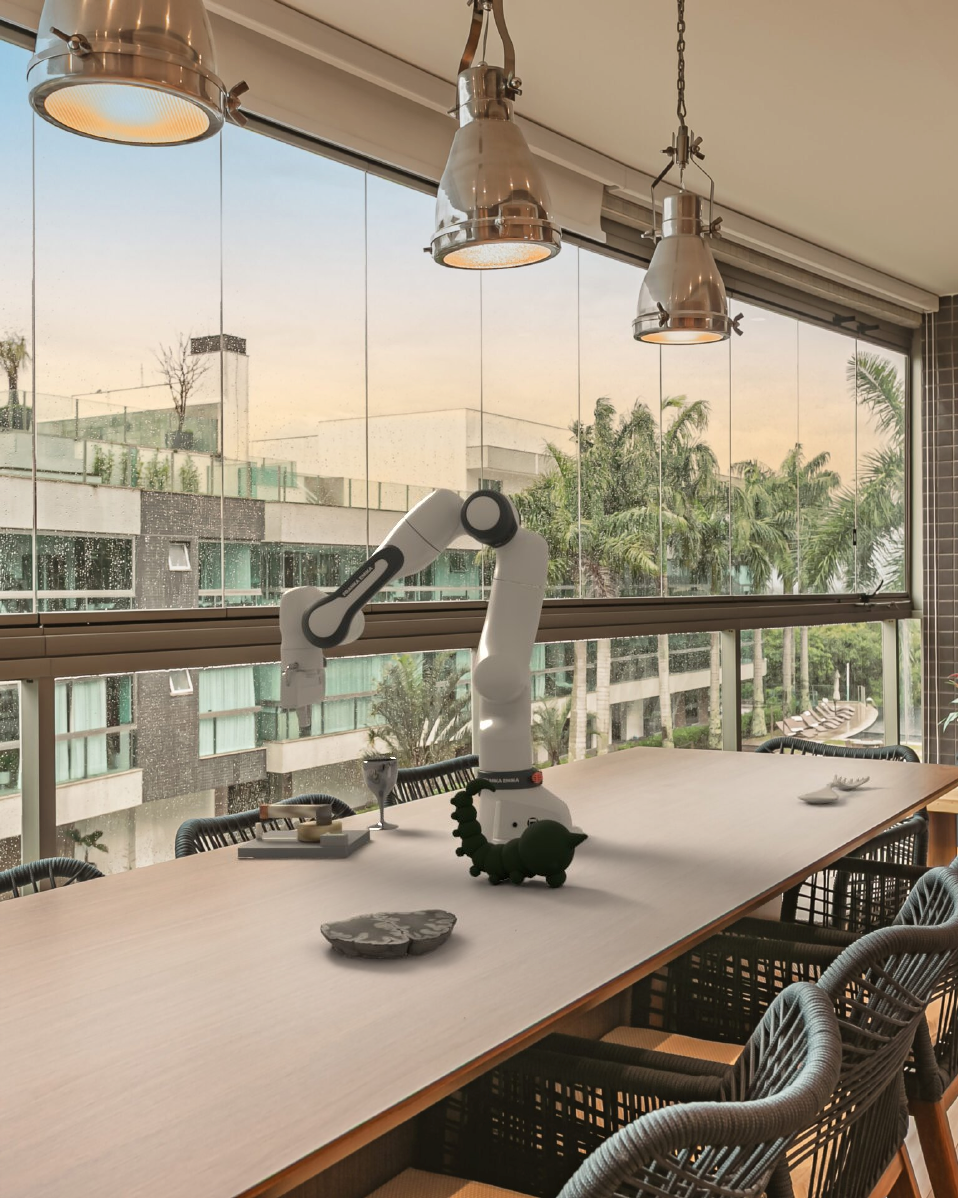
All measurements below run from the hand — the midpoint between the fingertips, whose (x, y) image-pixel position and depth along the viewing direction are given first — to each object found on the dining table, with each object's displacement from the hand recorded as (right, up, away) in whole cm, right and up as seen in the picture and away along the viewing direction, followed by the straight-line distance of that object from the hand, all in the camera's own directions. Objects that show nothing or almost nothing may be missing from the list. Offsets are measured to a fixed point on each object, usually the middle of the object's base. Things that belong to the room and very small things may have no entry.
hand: (304, 726), depth 242 cm
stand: (+2, -23, -12) cm, 27 cm away
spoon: (+122, -20, +28) cm, 127 cm away
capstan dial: (+1, -21, -12) cm, 24 cm away
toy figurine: (+45, -22, -49) cm, 70 cm away
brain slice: (+26, -22, -83) cm, 90 cm away
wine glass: (+16, -24, +9) cm, 30 cm away
